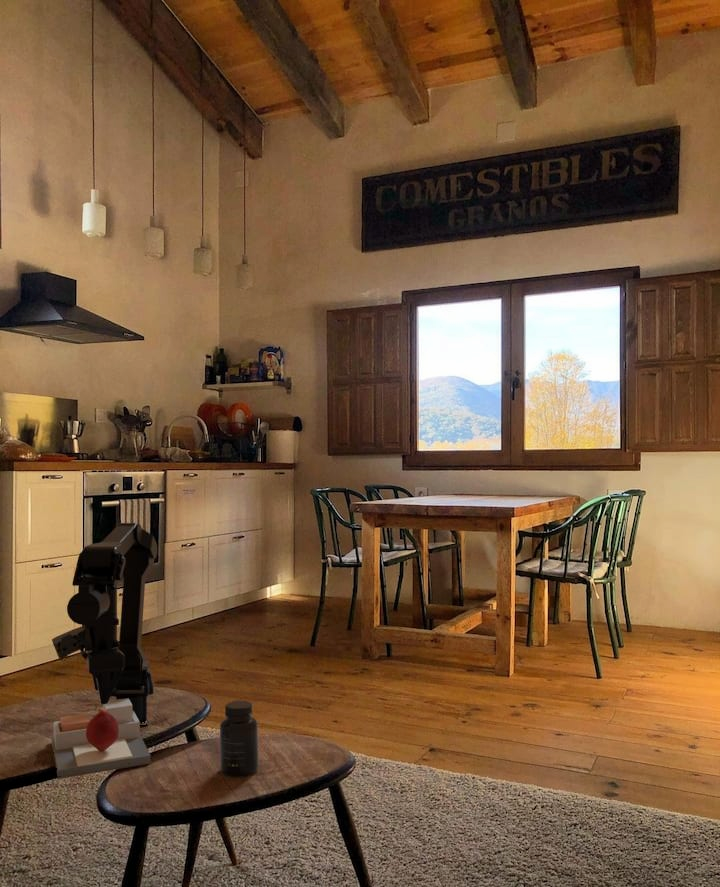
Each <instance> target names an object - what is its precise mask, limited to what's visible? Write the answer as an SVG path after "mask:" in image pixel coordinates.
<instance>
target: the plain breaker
mask: <svg viewBox="0 0 720 887" xmlns="http://www.w3.org/2000/svg"><path fill="white" fill-rule="evenodd" d="M102 708H103V709H104V710H105V711H106V712H107V713H109V714H111V715H112V716H113V717H114V718H115V719H116V721H117V723H118V724H121V723H128V722H132V704H131V702H130V700H129V698H126V699H119V700H114V699H112V700H111V699H110V700H109V701H108V703H107V704H102Z"/></svg>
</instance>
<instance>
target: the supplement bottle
mask: <svg viewBox="0 0 720 887" xmlns="http://www.w3.org/2000/svg"><path fill="white" fill-rule="evenodd" d="M224 706H225V707H224V708H225V709H224V711H225V712H224V716H225V718H223V719H222V720H221V723H220V724H219V754H220V757H219V758H220V759H219V760H220V762H219V763H220V764H219V765H220V771H221V773H222V774H223V775H224V776H227V777H230V778H242V777H244V778H245V777H248V776H251V775H253V774H254V773H255V772H257V770H258V768H259V724H258V721H257V719H256V717H254V716H253V703H252V701H248V700H245V699H244V700H243V699H242V700H240V699H239V700H232V701H229V702H227V703H225V705H224Z"/></svg>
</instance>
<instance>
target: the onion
mask: <svg viewBox="0 0 720 887" xmlns="http://www.w3.org/2000/svg"><path fill="white" fill-rule="evenodd" d="M92 717H93V718H92V719H91V720H90V722H89V723H88V726H87V729H86V738H87V740H88V742H89V743H90V744H91V745H92V746H94V747H95V748H96V749H97V750H98V751H101V752H103V751H105V750H106V749H107V748H108V747H110V746H111V745H112V744H113V743H114V742H115V741H116V739H117V737H118V734H119V727H118V723H117V721H116V719H115V718H114V717H113V716H112V715H111V714H109V713H107V712H106V711H105V710H104V709H103V707H99V708H98V712H97V713H96V714H95V715H93V716H92Z"/></svg>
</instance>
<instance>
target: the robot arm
mask: <svg viewBox="0 0 720 887" xmlns="http://www.w3.org/2000/svg"><path fill="white" fill-rule="evenodd" d="M157 555H158V544H157V541H156V540H155V537H154V535H153V534H152V533H150V532H149V531H146V530H144V529H143V527H142V525H141V523H137V522H119V523H116V524H114V526H113V530H112V531H111V532H110V533H109V534H108V535H106V537H105V538H103V540H102V541H100V542H97V543H91V544H88V545H85V546H84V547H83V549H82V550H81V552H80V553H79V554H78V557H77V562H76V565H75V570H74V575H73V579H72V586H73V587H77V586H78V587H77V588H78V590H77V591H78V592H77V593H76V594H73V596H71V598H70V599H69V600H68V602H67V604H66V611H67V615H68V617H69V619H70V620H71V621H72V622H74V623H75V624H77V625H80V626H79V627H76V628H74V629H71V630H69V631H67V632H64V633H62V634H59V635H57V636H54V637H52V639H51V641H52V644H53V648H54V650H55V653H56V655H57V657H58V659H59V660H61V659H64V658H67V657H68V656H69V655H71V654H73V653H75V652H78V651H80V656H82V657H83V658H84V659H85V660H86V669H87V671H88V673H89V674H90V675H91V677H92V680H93V681H92V682H93V686H94V689H95V691H98V694H99V696H98V697H99V701H100V704H101V705H103V704H107V703H108V701H110V700H111V699H110V698H112V697H114V699H113V700H119V699H126V698H129V700H130V702H131V704H132V711H134V712H135V714H136V716H137V718H138V720H139V722H140V723H141V724H142V722H144V723H145V721H146V720H147V721H148V722H149V720H148V718H147V717H148V716H147V713H148V712H147V710H148V705H147V703H148V702H147V701H148V700H147V698H148V697H149V696H151V695H154V692H155V691H154V688H155V687H154V685H155V684H154V679H153V675H152V672H151V669H150V667H149V666H148V665H149V661H148V660H149V659H148V657H147V655H146V654H145V652H144V650H143V647H142V638H143V637H142V635H143V634H142V633H143V621H144V620H143V619H144V607H145V606H144V604H145V589H146V588H145V587H146V578H147V577H148V576H149V574H150V572H151V571H152V570H153V569H154V564H155V559H156V558H157ZM122 579H123V582H122V584H123V585H122V596H121V598H122V599H121V612H120V620H119V618H118V586H117V585H118V584H119V581H122ZM119 622H120V623H119ZM119 625H120V626H119ZM118 626H119V636H118ZM118 637H119V639H118Z"/></svg>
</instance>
